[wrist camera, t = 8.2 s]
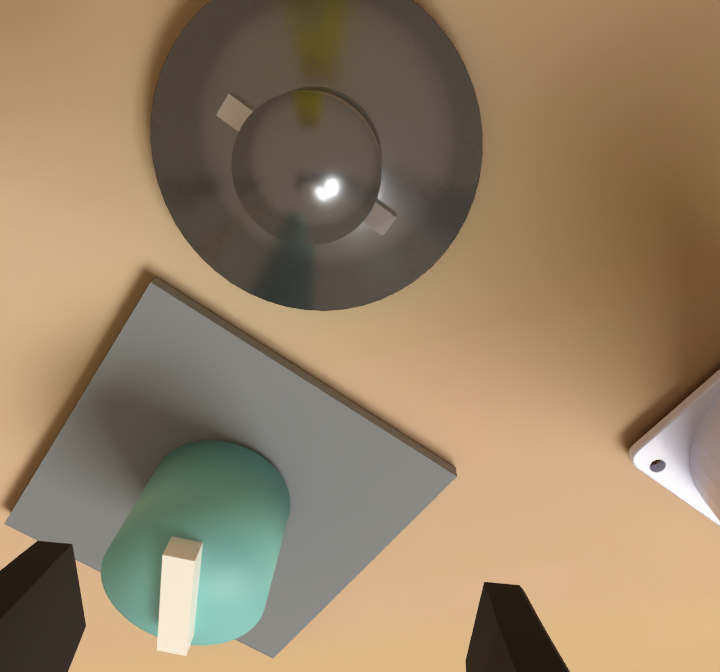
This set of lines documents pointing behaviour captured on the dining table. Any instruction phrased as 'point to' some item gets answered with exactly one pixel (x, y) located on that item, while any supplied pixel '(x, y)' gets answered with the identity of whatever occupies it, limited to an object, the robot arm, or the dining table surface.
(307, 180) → the metal flanged disc
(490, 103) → the dining table surface
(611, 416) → the dining table surface
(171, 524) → the cap
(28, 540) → the dining table surface
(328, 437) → the mat
